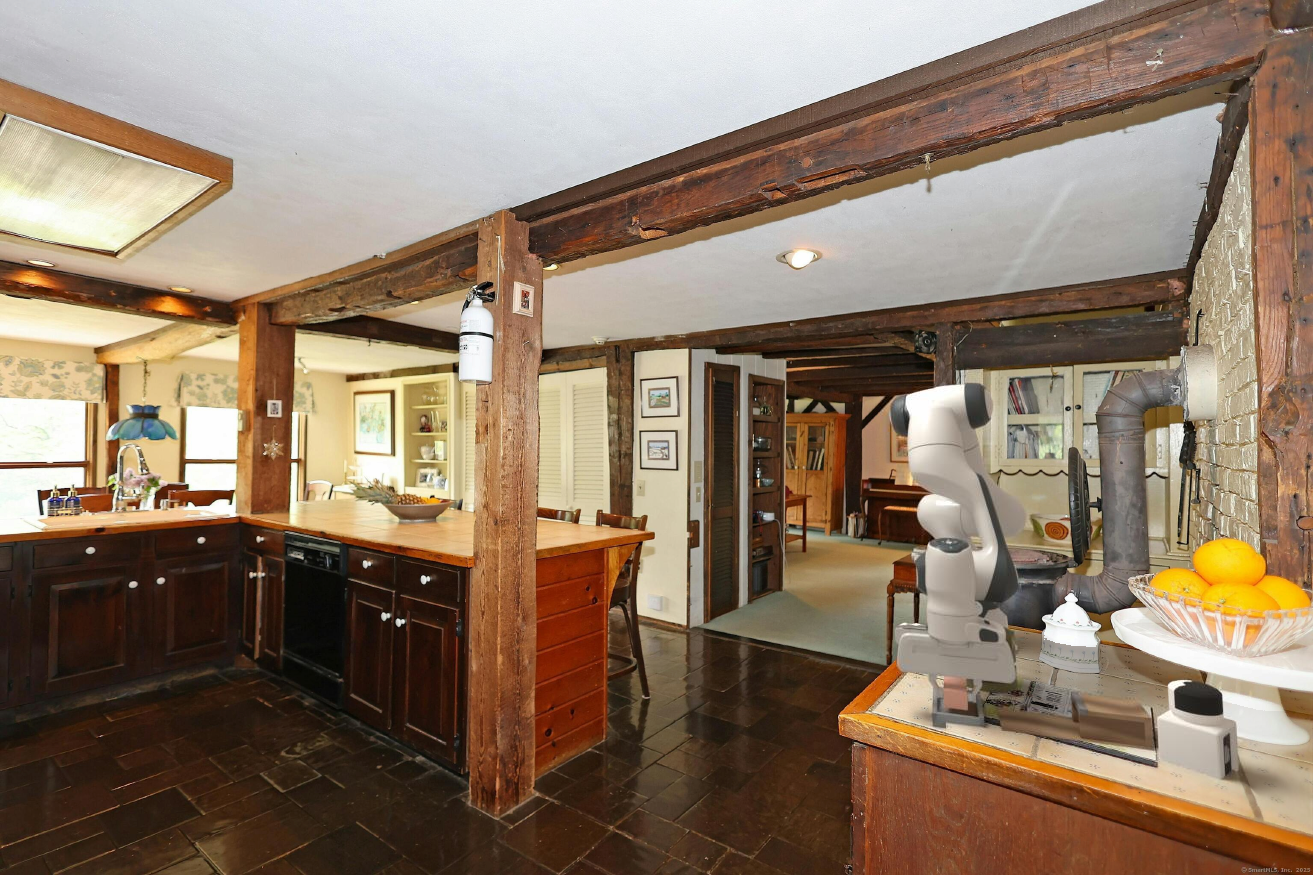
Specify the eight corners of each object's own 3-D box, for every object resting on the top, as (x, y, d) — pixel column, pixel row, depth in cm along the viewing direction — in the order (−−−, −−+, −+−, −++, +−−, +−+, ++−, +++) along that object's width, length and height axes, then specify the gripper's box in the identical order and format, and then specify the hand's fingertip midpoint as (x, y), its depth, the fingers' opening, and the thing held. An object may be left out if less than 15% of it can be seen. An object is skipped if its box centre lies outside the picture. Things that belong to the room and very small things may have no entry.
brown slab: (997, 713, 121) (996, 681, 121) (1137, 730, 112) (1136, 696, 112) (1002, 735, 112) (1000, 701, 112) (1155, 756, 103) (1153, 719, 103)
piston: (946, 631, 134) (966, 620, 142) (949, 687, 134) (969, 673, 142) (1004, 641, 126) (1022, 629, 134) (1007, 701, 126) (1024, 685, 134)
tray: (933, 698, 129) (933, 686, 129) (980, 703, 125) (980, 691, 126) (932, 725, 117) (932, 712, 117) (984, 732, 113) (984, 719, 113)
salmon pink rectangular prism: (944, 707, 118) (943, 689, 118) (944, 688, 127) (943, 672, 127) (967, 710, 116) (967, 692, 116) (966, 690, 125) (966, 674, 125)
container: (1239, 770, 98) (1235, 686, 98) (1221, 786, 94) (1216, 698, 94) (1178, 751, 104) (1174, 672, 104) (1158, 765, 100) (1154, 682, 100)
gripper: (892, 625, 121) (895, 698, 120) (1015, 635, 112) (1018, 713, 112) (895, 617, 126) (898, 686, 126) (1011, 626, 118) (1015, 700, 118)
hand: (955, 699), depth 119 cm, fingers closed on salmon pink rectangular prism, 4 cm apart
